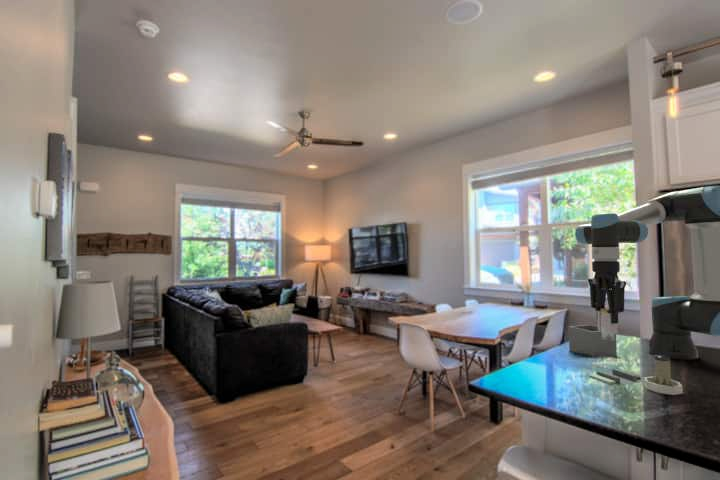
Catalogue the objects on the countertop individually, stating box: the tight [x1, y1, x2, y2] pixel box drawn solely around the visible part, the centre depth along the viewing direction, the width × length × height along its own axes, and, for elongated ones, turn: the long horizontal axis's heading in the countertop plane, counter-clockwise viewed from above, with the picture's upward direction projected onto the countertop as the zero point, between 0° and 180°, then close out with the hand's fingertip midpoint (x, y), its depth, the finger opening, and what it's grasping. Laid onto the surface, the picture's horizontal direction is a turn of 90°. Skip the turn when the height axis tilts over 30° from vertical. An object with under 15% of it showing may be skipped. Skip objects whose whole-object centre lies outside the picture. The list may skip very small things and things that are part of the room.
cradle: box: [585, 368, 644, 387], centre depth 115 cm, size 14×10×3 cm
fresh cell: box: [600, 307, 615, 341], centre depth 119 cm, size 4×4×10 cm
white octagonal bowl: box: [643, 375, 684, 396], centre depth 105 cm, size 8×8×4 cm
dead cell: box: [653, 354, 672, 386], centre depth 106 cm, size 4×4×10 cm
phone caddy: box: [568, 324, 618, 358], centre depth 149 cm, size 12×12×10 cm
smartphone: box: [574, 351, 600, 358], centre depth 149 cm, size 8×15×1 cm, turn 129°
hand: (607, 331), depth 119 cm, fingers closed on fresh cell, 3 cm apart
